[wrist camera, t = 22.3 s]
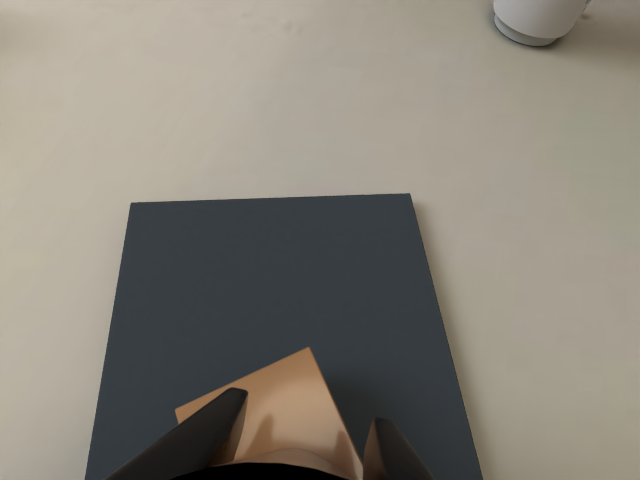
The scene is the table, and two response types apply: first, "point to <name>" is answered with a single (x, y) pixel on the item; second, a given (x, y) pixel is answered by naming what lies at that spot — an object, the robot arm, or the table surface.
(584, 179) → the table surface
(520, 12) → the energy drink can
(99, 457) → the scrub mat
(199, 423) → the robot arm
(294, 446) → the peg on stand
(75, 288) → the table surface
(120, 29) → the table surface
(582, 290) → the table surface
